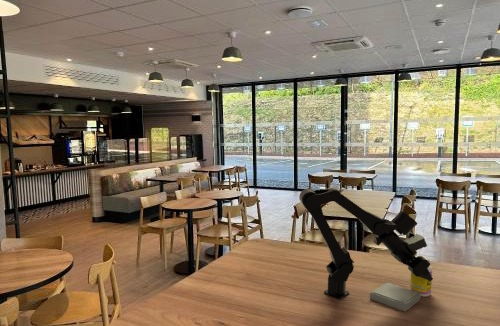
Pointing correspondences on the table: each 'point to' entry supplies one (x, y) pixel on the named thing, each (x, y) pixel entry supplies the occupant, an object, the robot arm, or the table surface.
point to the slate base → (395, 296)
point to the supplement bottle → (421, 282)
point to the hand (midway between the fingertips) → (425, 274)
